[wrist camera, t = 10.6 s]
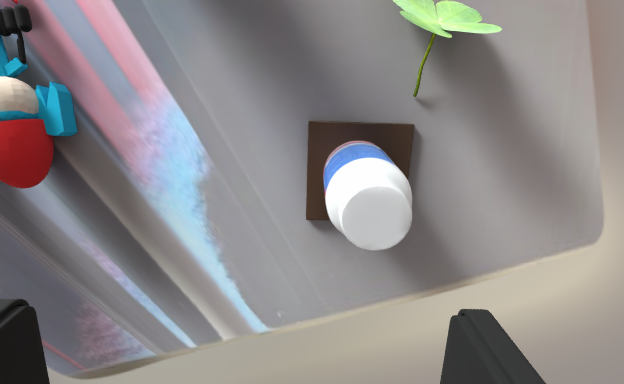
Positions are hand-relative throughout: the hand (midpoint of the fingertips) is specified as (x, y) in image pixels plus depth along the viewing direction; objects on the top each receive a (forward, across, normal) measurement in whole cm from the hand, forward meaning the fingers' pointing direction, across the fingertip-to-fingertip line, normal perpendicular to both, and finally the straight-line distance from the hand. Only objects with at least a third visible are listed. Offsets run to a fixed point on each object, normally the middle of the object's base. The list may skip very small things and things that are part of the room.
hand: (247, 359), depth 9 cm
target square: (+23, -6, +1) cm, 23 cm away
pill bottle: (+23, -6, +1) cm, 23 cm away
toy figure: (+24, +20, -5) cm, 32 cm away
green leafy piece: (+23, -9, -9) cm, 26 cm away
